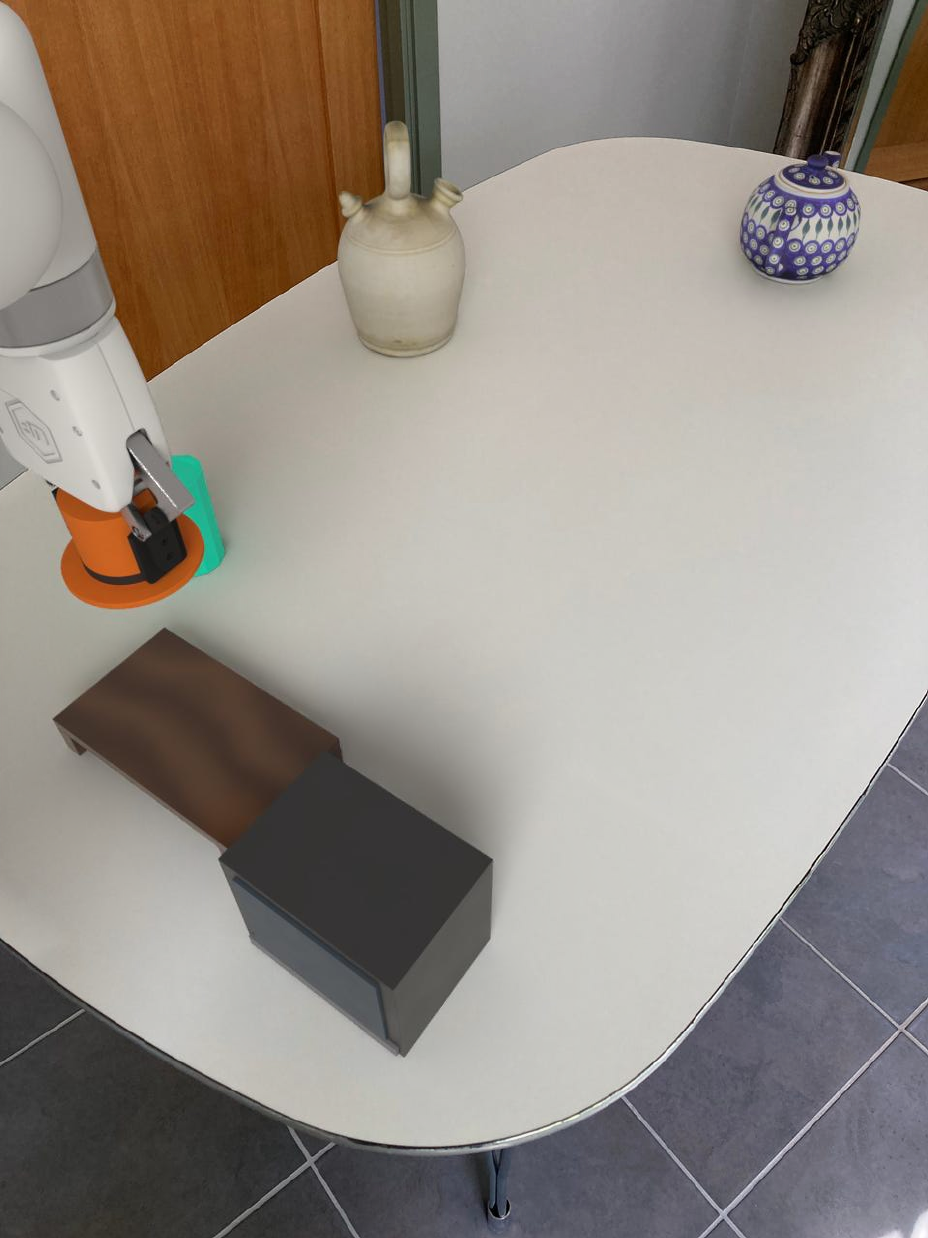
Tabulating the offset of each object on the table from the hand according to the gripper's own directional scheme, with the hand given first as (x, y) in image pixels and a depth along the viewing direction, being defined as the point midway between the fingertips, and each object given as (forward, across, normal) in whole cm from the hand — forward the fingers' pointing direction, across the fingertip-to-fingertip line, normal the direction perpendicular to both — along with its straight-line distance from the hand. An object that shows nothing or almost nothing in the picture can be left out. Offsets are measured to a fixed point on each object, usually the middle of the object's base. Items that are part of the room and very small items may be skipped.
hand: (128, 545), depth 61 cm
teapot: (+25, +7, +102) cm, 106 cm away
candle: (+24, -18, +16) cm, 34 cm away
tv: (+24, +21, -4) cm, 32 cm away
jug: (+25, -26, +60) cm, 69 cm away
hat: (+1, 0, 0) cm, 1 cm away
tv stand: (+24, 0, 0) cm, 24 cm away
